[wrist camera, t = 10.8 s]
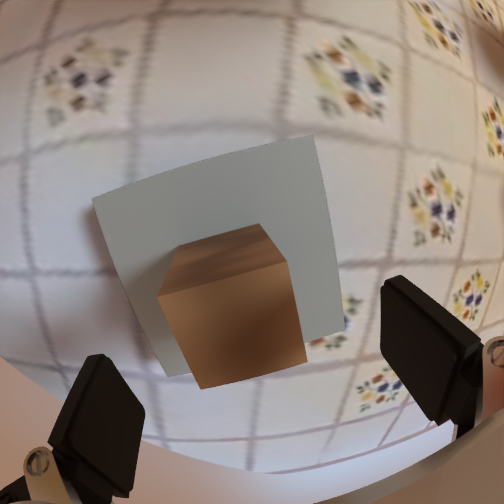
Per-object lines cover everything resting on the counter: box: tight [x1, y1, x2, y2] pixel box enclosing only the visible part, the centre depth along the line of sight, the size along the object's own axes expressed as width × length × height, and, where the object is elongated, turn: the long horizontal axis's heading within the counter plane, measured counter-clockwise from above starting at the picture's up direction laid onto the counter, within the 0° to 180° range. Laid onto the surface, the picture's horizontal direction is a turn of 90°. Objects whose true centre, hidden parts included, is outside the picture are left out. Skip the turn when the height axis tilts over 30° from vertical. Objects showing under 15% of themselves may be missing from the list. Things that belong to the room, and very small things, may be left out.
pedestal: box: [92, 135, 345, 377], centre depth 20 cm, size 14×14×4 cm
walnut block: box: [157, 223, 307, 389], centre depth 14 cm, size 5×5×7 cm
